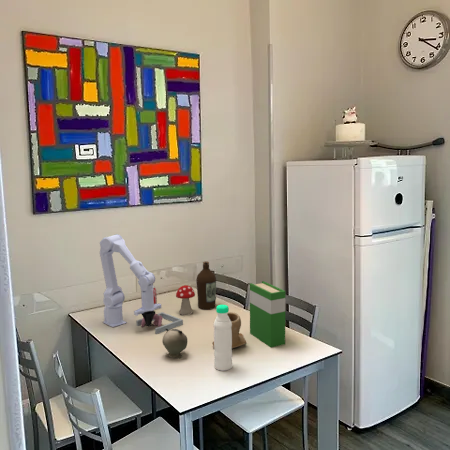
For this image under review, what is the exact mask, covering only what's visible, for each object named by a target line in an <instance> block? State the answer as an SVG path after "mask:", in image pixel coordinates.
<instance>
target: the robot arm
mask: <svg viewBox="0 0 450 450" xmlns="http://www.w3.org/2000/svg"><path fill="white" fill-rule="evenodd" d="M99 247H100V249H99V257H100V262H101V268H102V271H103V276H104V282H105V286H106V287H105V288H106V289H104V292H103V301H102V302H103V304H104V309H103V321H102V323H103V324H105V325H107V326H109V327H112V328H115V327H118V326H122V325H124V324H127V321H125V320H124V318H123V317H124V316H123V304H124V301H125V298H126V297H125V294H124V292H123V289H122V287H120V286H119V285H118V284H119V283H118V279H117V273H116V269H115V264H114V260H113V254H114V253H119V255H121V256H122V258H124V260H125V261H126V262H127V263H128V264H129V269H130V271H132V273H133V275H134V276H135V277H136V279H138V280H137V284H138V285H139V287H140V292H141V293H140V295H141V307H139V308H137V309H136V310H133V315H134V316H139V315H141V316H142V319H143V318H144V320H145V322H146V323H145V326H146V327H148V328H149V327H151V326H152V324H153V321H152V320H153V317H154V315H155V314H156V311H155V310H159V309H162V304H161V303H157V304H154V294H153V286H154V283H155V282H156V276H155V274H154V273H153V272H151V271H149V270H147V268H146V267H145V266H144V264H143V262H142V261H140V260H137V259H136V258H135V256H134V255H133V253H132V252H131V251H130V249H129V247H127V245H126V241H125V239H124V238H123V236H122V235H121V234H117V233H116V234H114V235H110V236H104V237H103V238H102V239H101V240H100V241H99Z"/></svg>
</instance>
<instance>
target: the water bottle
mask: <svg viewBox="0 0 450 450" xmlns="http://www.w3.org/2000/svg"><path fill="white" fill-rule="evenodd" d="M215 312H216V314H217V315H216V317H215V318H214V319H215V320H214V322H213V341H214V346H213V348H214V350H213V356H214V360H213V364H214V368H215V369H216V370H218V371H223V372H224V371H226V372H227V371H229V370H231V369H232V367H233V350H232V349H233V348H232V330H231V327H232V323H231V321H230V319H229V316H228V315H227V314H228V312H230V311H229V306H228V305H227V304H219V305H217V306H215Z"/></svg>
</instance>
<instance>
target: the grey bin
mask: <svg viewBox="0 0 450 450" xmlns="http://www.w3.org/2000/svg"><path fill="white" fill-rule="evenodd" d="M157 314H159V315H161V316H162V319H164V320H167V321H169V322H170V323H167V324H164V325H161V327H158V326H157V327H155V328H154V332H155V333H154V334H155V335H158V334H161V333H163V332H167V330H166V329H168V330H172V329H176V328H177V327H180V326H183V324H184V320H183V319H182V318H179V317H177V316H174V315H171V314H169V313H165V312H163V311H161V312H157ZM142 319H143V318H140V319H137V320H136V324H135V325H136V326H137V327H138V326H141V323H142ZM152 322H154V320H152ZM165 328H166V329H165Z"/></svg>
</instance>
